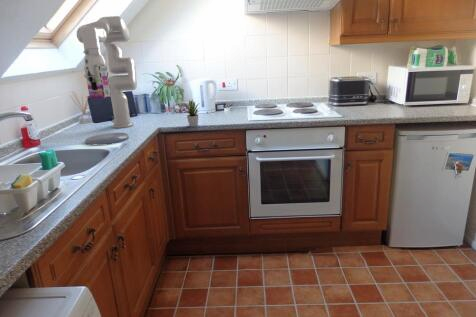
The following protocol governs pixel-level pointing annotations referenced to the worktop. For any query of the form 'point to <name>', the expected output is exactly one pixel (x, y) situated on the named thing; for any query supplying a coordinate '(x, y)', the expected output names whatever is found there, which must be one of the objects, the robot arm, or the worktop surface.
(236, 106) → the worktop surface
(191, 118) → the house plant
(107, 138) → the plate
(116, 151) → the worktop surface
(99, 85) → the candy bar box
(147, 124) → the worktop surface
